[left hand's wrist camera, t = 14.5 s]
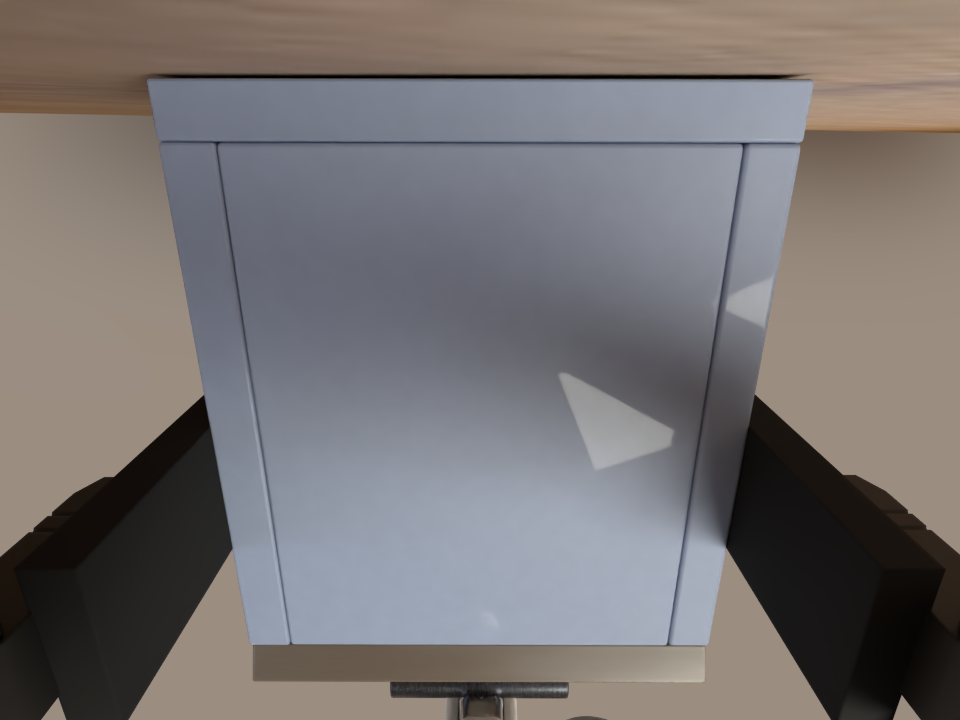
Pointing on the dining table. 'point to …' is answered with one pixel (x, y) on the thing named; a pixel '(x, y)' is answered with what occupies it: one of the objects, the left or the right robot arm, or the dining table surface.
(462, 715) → the right robot arm
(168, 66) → the dining table surface
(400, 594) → the chest
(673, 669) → the lid
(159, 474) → the left robot arm
